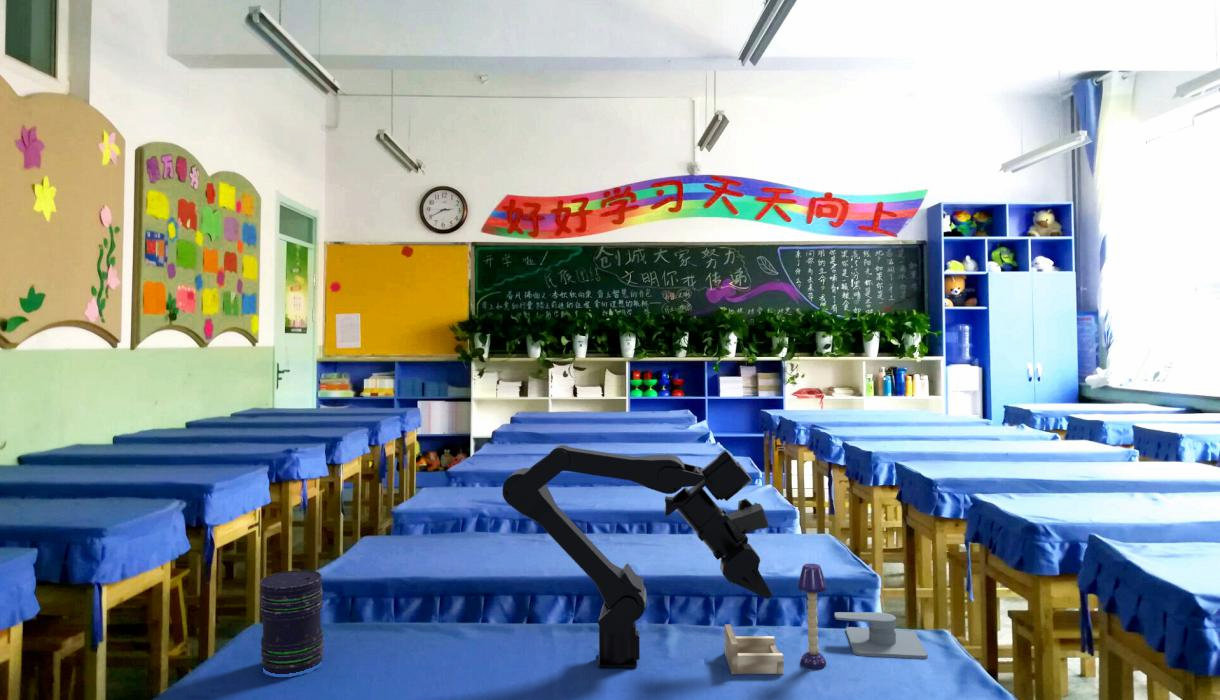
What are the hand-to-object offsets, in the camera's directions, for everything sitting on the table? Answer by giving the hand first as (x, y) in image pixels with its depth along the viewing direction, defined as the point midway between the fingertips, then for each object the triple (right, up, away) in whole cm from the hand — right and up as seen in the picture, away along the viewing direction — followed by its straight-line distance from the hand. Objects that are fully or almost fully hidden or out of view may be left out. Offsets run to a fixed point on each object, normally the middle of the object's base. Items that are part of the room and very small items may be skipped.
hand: (764, 588), depth 141 cm
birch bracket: (-2, -13, 0) cm, 13 cm away
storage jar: (-80, -13, 0) cm, 81 cm away
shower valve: (+22, -13, +9) cm, 27 cm away
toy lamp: (+8, -13, 0) cm, 15 cm away
